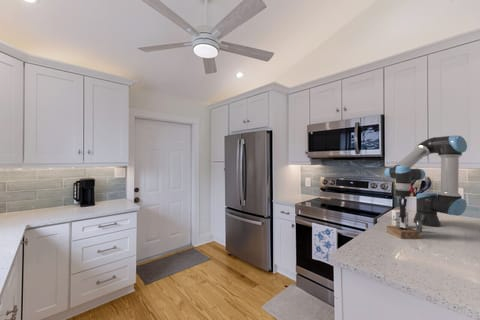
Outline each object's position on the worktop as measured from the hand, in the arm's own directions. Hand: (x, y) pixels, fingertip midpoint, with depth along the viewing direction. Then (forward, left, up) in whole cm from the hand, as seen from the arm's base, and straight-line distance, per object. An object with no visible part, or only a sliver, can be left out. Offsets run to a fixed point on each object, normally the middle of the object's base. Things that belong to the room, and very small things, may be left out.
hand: (402, 226), depth 132 cm
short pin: (-16, -6, -5) cm, 18 cm away
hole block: (0, 0, -5) cm, 5 cm away
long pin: (0, 0, -2) cm, 2 cm away
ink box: (-11, -16, -6) cm, 20 cm away
